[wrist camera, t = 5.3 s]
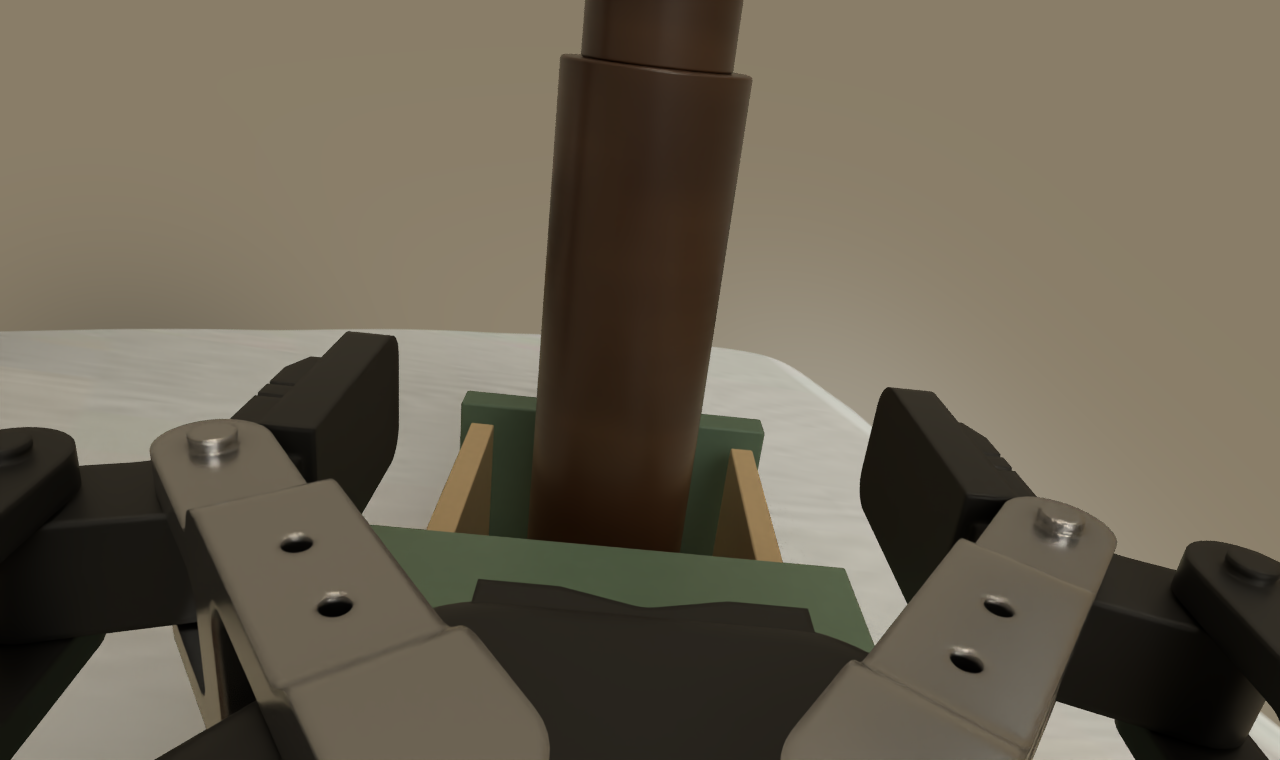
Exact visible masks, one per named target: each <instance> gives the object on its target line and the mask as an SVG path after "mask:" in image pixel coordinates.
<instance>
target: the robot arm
mask: <svg viewBox="0 0 1280 760" xmlns="http://www.w3.org/2000/svg"><path fill="white" fill-rule="evenodd" d="M398 430H399V351H398V343H397V340H396V338H395V336H390V335H380V334H370V333H360V332H351V331H348V332H346V333H345V334H344V335H343V336H342V337H341V338H340V339H339V340H338V341H337V342H336V343H335V344H334V345H333V346H332V347H331V348H330V349H329V350H328V351H327V352H326V353H325V354H324V355H323V356H322V357H308V358H306V359H303V360H301V361H299V362H296V363H294V364H291V365H289V366H286V367H285V368H283V369H282V370H281V371H280V372H279V373H278V374H277V375H276V376H275V377H274V378H273V379H272V380H271V381H270V384H266V385H265V386H264V387H263V388H262V389H261V390H260V391H259V392H258V396H256V395H255V396H254V397H253V398H252V399H251V400H249V401H248V402H247V403H246V404H245V405H244V406H243V407H242V408H241V409H240V410H239V411H238V412H237V413H236V414H235V415H234V416H232V417H231V418H230V419H215V420H205V421H199V422H194V423H189V424H186V425H182V426H179V427H176V428H174V429H171V430H169V431H167V432H165V433H164V434H162V435H160V436H159V437H158V438H157V439H156V440H154V442H153V443H152V445H151V447H150V456H151V460H150V461H143V462H132V463H117V464H101V465H85V466H79V463H78V457H77V451H76V445H75V441H74V439H73V438H72V437H71V436H70V435H68V434H66V433H64V432H61V431H58V430H54V429H49V428H39V427H21V428H9V429H1V430H0V760H11V758H12V757H13V756H14V755H15V753H16V752H17V751H18V750H19V748H20V747H21V746H22V744H23V743H24V742H25V741H26V739H27V738H28V737H29V735H30V734H31V733H32V732H33V730H34V729H35V728H36V727H37V725H38V724H39V723H40V721H41V720H42V719H43V718H44V716H45V715H46V714H47V712H48V711H49V710H50V709H51V707H52V706H53V705H54V704H55V702H56V701H57V700H58V698H59V697H60V696H61V695H62V693H63V692H64V691H65V689H66V688H67V687H68V686H69V684H70V683H71V682H72V681H73V679H74V678H75V677H76V675H77V674H78V673H79V672H80V670H81V669H82V668H83V666H84V665H85V664H86V663H87V661H88V660H89V659H90V658H91V656H92V655H93V654H94V652H95V651H96V650H97V649H98V647H99V646H100V645H101V643H102V641H103V640H104V637H105V635H106V633H113V632H121V631H129V630H137V629H145V628H153V627H161V626H169V625H172V626H173V633H174V639H175V641H176V644H177V647H178V650H179V653H180V656H181V658H182V661H183V664H184V667H185V670H186V673H187V675H188V678H189V681H190V684H191V687H192V690H193V693H194V695H195V698H196V701H197V704H198V707H199V710H200V712H201V715H202V718H203V721H204V724H205V727H206V730H204V731H203V732H201V733H199V734H198V735H196V736H194V737H192V738H191V739H189V740H187V741H186V742H184V743H182V744H181V745H179V746H177V747H175V748H174V749H172V750H170V751H169V752H167V753H165V754H163V755H162V756H160V757H158V758H157V759H155V760H1033V757H1034V755H1035V752H1036V750H1037V747H1038V745H1039V742H1040V740H1041V738H1042V735H1043V733H1044V730H1045V728H1046V725H1047V723H1048V720H1049V718H1050V715H1051V713H1052V710H1053V708H1054V705H1055V703H1056V701H1058V702H1061V703H1064V704H1067V705H1070V706H1074V707H1077V708H1080V709H1083V710H1087V711H1090V712H1093V713H1096V714H1100V715H1103V716H1106V717H1109V718H1112V719H1115V724H1116V728H1117V730H1118V732H1119V734H1120V735H1121V737H1122V739H1123V740H1124V742H1125V744H1126V745H1127V747H1128V748H1129V750H1130V752H1131V753H1132V755H1133V757H1134V758H1135V760H1269V759H1268V758H1267V757H1266V755H1265V754H1264V753H1263V752H1262V750H1261V749H1260V748H1259V747H1258V746H1257V744H1256V743H1255V742H1254V741H1253V739H1252V738H1251V737H1250V736H1249V732H1250V730H1251V728H1252V726H1253V724H1254V722H1255V720H1256V718H1257V716H1258V714H1259V712H1260V710H1261V708H1262V706H1263V704H1264V702H1265V701H1267V702H1268V704H1269V705H1270V706H1271V707H1272V708H1273V710H1274V711H1275V713H1276V714H1277V716H1278V718H1279V721H1280V562H1278V561H1275V560H1273V559H1271V558H1269V557H1267V556H1265V555H1263V554H1261V553H1258V552H1255V551H1252V550H1249V549H1247V548H1243V547H1240V546H1237V545H1232V544H1228V543H1223V542H1217V541H1197V542H1193V543H1191V544H1189V545H1188V546H1187V547H1186V550H1185V552H1184V554H1183V557H1182V559H1181V561H1180V564H1179V566H1178V569H1177V570H1173V569H1169V568H1165V567H1161V566H1157V565H1153V564H1150V563H1145V562H1142V561H1138V560H1134V559H1130V558H1127V557H1123V556H1120V555H1117V554H1114V551H1115V549H1116V546H1117V540H1116V537H1115V535H1114V533H1113V532H1112V531H1111V530H1110V529H1109V527H1107V526H1106V525H1105V524H1104V523H1103V522H1101V521H1100V520H1098V519H1097V518H1095V517H1093V516H1092V515H1090V514H1089V513H1087V512H1084V511H1082V510H1080V509H1078V508H1076V507H1073V506H1071V505H1068V504H1065V503H1062V502H1059V501H1055V500H1051V499H1045V498H1040V497H1037V496H1036V495H1035V494H1034V493H1033V492H1032V491H1031V489H1030V488H1029V487H1028V486H1027V485H1026V484H1025V482H1024V481H1023V480H1022V479H1021V478H1020V477H1019V475H1018V474H1017V473H1016V472H1015V471H1012V468H1011V466H1010V465H1009V464H1008V463H1007V461H1006V460H1005V459H1004V458H1002V457H1000V454H999V452H998V451H997V450H996V449H995V448H994V446H993V445H992V444H991V443H990V442H989V441H988V439H987V438H985V437H984V436H982V435H981V434H979V433H977V432H976V431H974V430H973V429H971V428H969V427H968V426H966V425H964V424H963V423H959V422H958V421H957V420H956V419H955V418H954V416H953V415H952V414H951V413H950V412H949V411H948V409H947V408H946V407H945V405H944V404H943V403H942V402H941V401H940V399H939V398H938V397H937V396H936V395H935V394H934V393H933V392H930V391H920V390H911V389H900V388H891V387H887V388H886V389H885V390H884V391H883V392H882V394H881V396H880V399H879V402H878V405H877V409H876V413H875V418H874V422H873V426H872V430H871V434H870V438H869V442H868V447H867V451H866V455H865V459H864V463H863V467H862V472H861V478H860V500H861V505H862V508H863V511H864V513H865V515H866V517H867V519H868V521H869V524H870V526H871V528H872V530H873V532H874V534H875V536H876V538H877V541H878V543H879V545H880V547H881V549H882V551H883V553H884V555H885V558H886V560H887V562H888V564H889V566H890V568H891V570H892V572H893V574H894V577H895V579H896V581H897V583H898V585H899V587H900V589H901V591H902V594H903V596H904V598H905V600H906V602H907V604H908V605H907V606H906V607H905V608H904V610H903V611H902V612H901V613H900V615H899V616H898V617H897V619H896V620H895V621H894V622H893V624H892V625H891V626H890V627H889V629H888V630H887V631H886V632H885V634H884V635H883V636H882V638H881V639H880V640H879V641H878V643H877V644H876V645H875V646H874V648H873V649H872V650H871V651H870V653H868V652H866V651H864V650H862V649H860V648H858V647H856V646H853V645H851V644H849V643H847V642H844V641H842V640H839V639H836V638H833V637H830V636H827V635H824V634H821V633H817V632H815V630H814V627H813V623H812V620H811V617H810V613H809V610H808V608H798V607H787V606H775V605H764V604H753V603H742V602H731V601H725V602H713V603H701V604H689V605H677V606H665V607H650V608H647V607H639V606H634V605H631V604H627V603H623V602H619V601H615V600H611V599H608V598H604V597H600V596H596V595H592V594H588V593H585V592H581V591H577V590H573V589H569V588H565V587H562V586H553V585H542V584H531V583H520V582H508V581H497V580H486V579H478V581H477V584H476V587H475V591H474V594H473V598H472V601H470V602H460V603H454V604H448V605H442V606H438V607H434V608H432V606H431V605H430V604H429V602H428V601H427V600H426V598H425V597H424V596H423V594H422V593H421V592H420V590H419V589H418V588H417V587H416V585H415V584H414V583H413V581H412V580H411V579H410V577H409V576H408V575H407V573H406V572H405V571H404V569H403V568H402V567H401V565H400V564H399V563H398V562H397V560H396V559H395V558H394V556H393V555H392V554H391V552H390V551H389V550H388V548H387V547H386V546H385V544H384V543H383V542H382V541H381V539H380V538H379V537H378V535H377V534H376V533H375V531H374V530H373V529H372V527H371V526H370V525H369V523H368V522H367V521H366V519H365V518H364V517H363V516H362V513H363V511H364V509H365V508H366V506H367V504H368V502H369V501H370V499H371V497H372V495H373V494H374V492H375V490H376V488H377V487H378V485H379V483H380V482H381V480H382V478H383V476H384V475H385V473H386V471H387V469H388V468H389V466H390V464H391V462H392V460H393V457H394V454H395V450H396V446H397V440H398Z"/></svg>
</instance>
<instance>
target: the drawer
mask: <svg viewBox="0 0 1280 760" xmlns="http://www.w3.org/2000/svg"><path fill="white" fill-rule="evenodd" d="M536 403H537V398H536V397H526V396H516V395H506V394H496V393H486V392H476V391H467V393H466V396H465V398H464V400H463V402H462V404H461V436H460V451H459V454H458V456H457V458H456V461H455V463H454V466H453V468H452V470H451V473H450V475H449V477H448V480H447V482H446V484H445V487H444V489H443V491H442V494H441V496H440V498H439V501H438V503H437V505H436V508H435V510H434V513H433V515H432V517H431V520H430V522H429V524H428V527H427V529H426V530H433V531H444V532H455V533H466V534H477V535H487V536H498V537H509V538H520V539H527V533H528V518H529V504H530V489H531V475H532V460H533V446H534V432H535V417H536ZM763 439H764V431H763V427H762V424H761V421H760V420H757V419H747V418H737V417H727V416H717V415H707V414H701V419H700V425H699V432H698V438H697V445H696V451H695V458H694V464H693V471H692V477H691V484H690V490H689V497H688V503H687V510H686V517H685V523H684V530H683V536H682V543H681V549H680V553H683V554H694V555H705V556H716V557H727V558H738V559H749V560H760V561H771V562H781V563H783V561H782V558H781V554H780V550H779V547H778V543H777V539H776V536H775V532H774V529H773V525H772V521H771V518H770V514H769V510H768V507H767V503H766V499H765V496H764V492H763V489H762V485H761V481H760V478H759V474H758V466H759V460H760V455H761V450H762V444H763Z"/></svg>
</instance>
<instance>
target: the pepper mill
mask: <svg viewBox="0 0 1280 760" xmlns="http://www.w3.org/2000/svg"><path fill="white" fill-rule="evenodd" d="M742 6H743V0H585V10H584V24H583V36H582V50H581V55H580V54H579V55H578V54H563V55H561V57H560V69H559V84H558V99H557V113H556V127H555V142H554V157H553V172H552V186H551V200H550V214H549V229H548V244H547V258H546V273H545V287H544V302H543V316H542V330H541V345H540V359H539V374H538V388H537V403H536V417H535V432H534V446H533V460H532V475H531V489H530V504H529V518H528V533H527V539H531V540H542V541H553V542H564V543H575V544H585V545H596V546H607V547H618V548H629V549H640V550H651V551H662V552H673V553H680V549H681V543H682V536H683V530H684V523H685V517H686V510H687V503H688V497H689V490H690V484H691V477H692V471H693V464H694V458H695V451H696V445H697V438H698V432H699V425H700V419H701V412H702V406H703V399H704V392H705V386H706V379H707V373H708V366H709V360H710V353H711V347H712V340H713V334H714V327H715V321H716V313H717V308H718V301H719V295H720V287H721V281H722V275H723V268H724V262H725V255H726V249H727V242H728V236H729V229H730V222H731V216H732V209H733V203H734V197H735V190H736V184H737V177H738V170H739V164H740V157H741V150H742V144H743V137H744V131H745V124H746V118H747V112H748V105H749V99H750V92H751V86H752V78H751V77H750V76H747V75H743V74H738V73H733V68H734V62H735V55H736V48H737V41H738V33H739V26H740V20H741V13H742Z"/></svg>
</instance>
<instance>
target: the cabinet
mask: <svg viewBox="0 0 1280 760" xmlns="http://www.w3.org/2000/svg"><path fill="white" fill-rule="evenodd" d="M370 526H371V527H372V529H373V530H374V531H375V533H376V534H377V535H378V537H379V538H380V539H381V541H382V542H383V543H384V544H385V546H386V547H387V548H388V550H389V551H390V552H391V554H392V555H393V556H394V558H395V559H396V560H397V562H398V563H399V564H400V565H401V567H402V568H403V569H404V571H405V572H406V573H407V575H408V576H409V577H410V579H411V580H412V581H413V583H414V584H415V585H416V587H417V588H418V589H419V590H420V592H421V593H422V594H423V596H424V597H425V598H426V600H427V601H428V602H429V604H430V605H431V606H432V608H434V607H438V606H442V605H448V604H454V603H460V602H470V601H472V598H473V594H474V591H475V587H476V584H477V581H478V579H486V580H497V581H508V582H520V583H531V584H542V585H553V586H562V587H565V588H569V589H573V590H577V591H581V592H585V593H588V594H592V595H596V596H600V597H604V598H608V599H611V600H615V601H619V602H623V603H627V604H631V605H634V606H639V607H647V608H650V607H665V606H677V605H689V604H701V603H713V602H725V601H731V602H742V603H753V604H764V605H775V606H787V607H798V608H808V610H809V613H810V617H811V620H812V623H813V627H814V630H815V632H817V633H821V634H824V635H827V636H830V637H833V638H836V639H839V640H842V641H844V642H847V643H849V644H851V645H853V646H856V647H858V648H860V649H862V650H864V651H866V652H868V653H870V651H871V650H872V649H873V648H874V643H873V640H872V638H871V635H870V633H869V630H868V628H867V625H866V622H865V620H864V617H863V615H862V612H861V609H860V607H859V604H858V602H857V599H856V597H855V594H854V591H853V589H852V586H851V584H850V581H849V579H848V576H847V573H846V571H845V569H844V568H836V567H825V566H814V565H803V564H792V563H781V562H771V561H760V560H749V559H738V558H727V557H716V556H705V555H694V554H683V553H673V552H662V551H651V550H640V549H629V548H618V547H607V546H596V545H585V544H575V543H564V542H553V541H542V540H531V539H520V538H509V537H498V536H487V535H477V534H466V533H455V532H444V531H433V530H422V529H411V528H400V527H389V526H379V525H370Z"/></svg>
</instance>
